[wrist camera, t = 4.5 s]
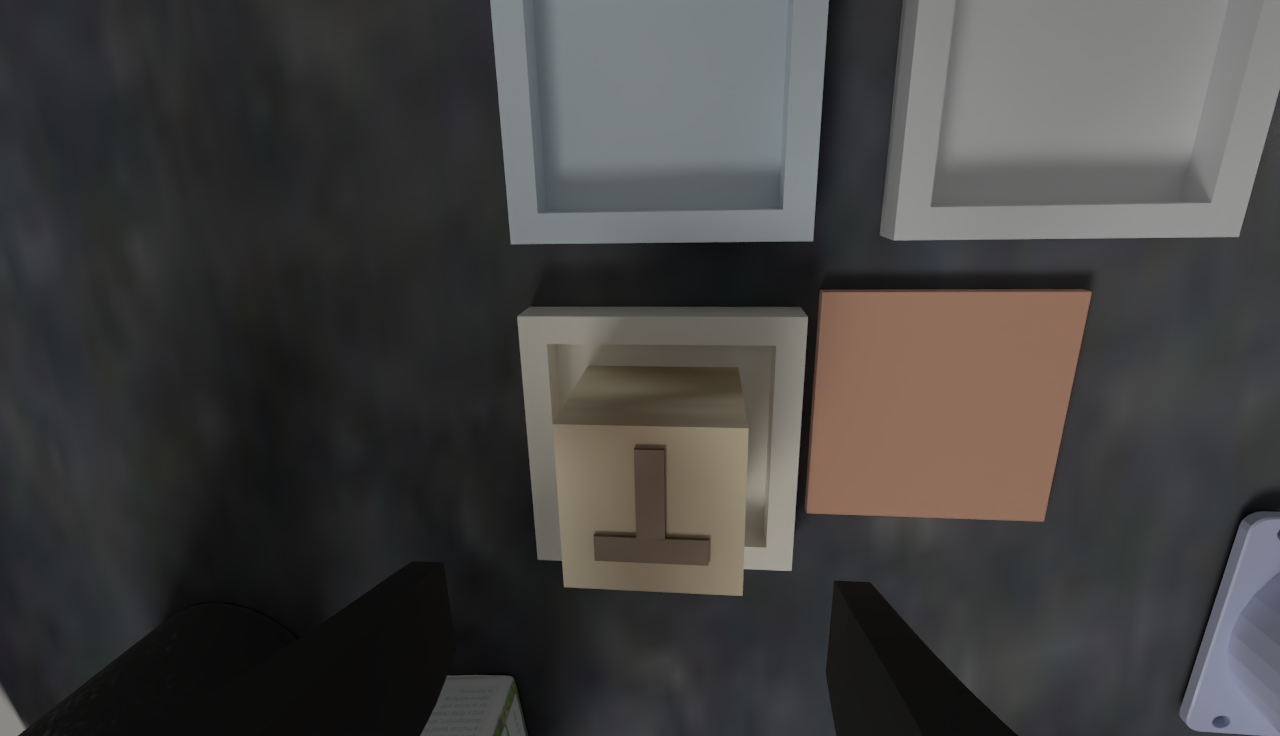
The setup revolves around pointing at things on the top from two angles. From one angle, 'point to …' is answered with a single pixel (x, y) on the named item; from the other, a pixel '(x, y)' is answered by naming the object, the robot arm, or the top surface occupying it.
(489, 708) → the syrup box
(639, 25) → the blue-grey tray
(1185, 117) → the grey tray
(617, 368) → the letter cube
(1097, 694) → the top surface
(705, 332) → the cream tray
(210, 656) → the travel mug
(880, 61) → the top surface
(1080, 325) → the terracotta mat
